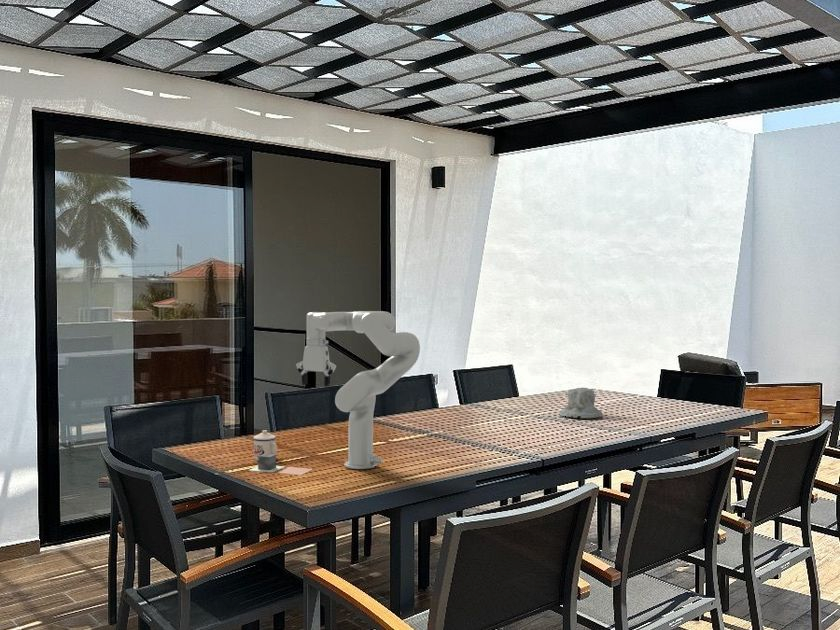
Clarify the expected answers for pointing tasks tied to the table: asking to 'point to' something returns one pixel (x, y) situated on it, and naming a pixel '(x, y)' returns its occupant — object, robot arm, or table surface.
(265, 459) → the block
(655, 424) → the table surface
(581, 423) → the table surface
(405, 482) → the table surface
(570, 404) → the hat
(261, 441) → the teacup with lid
